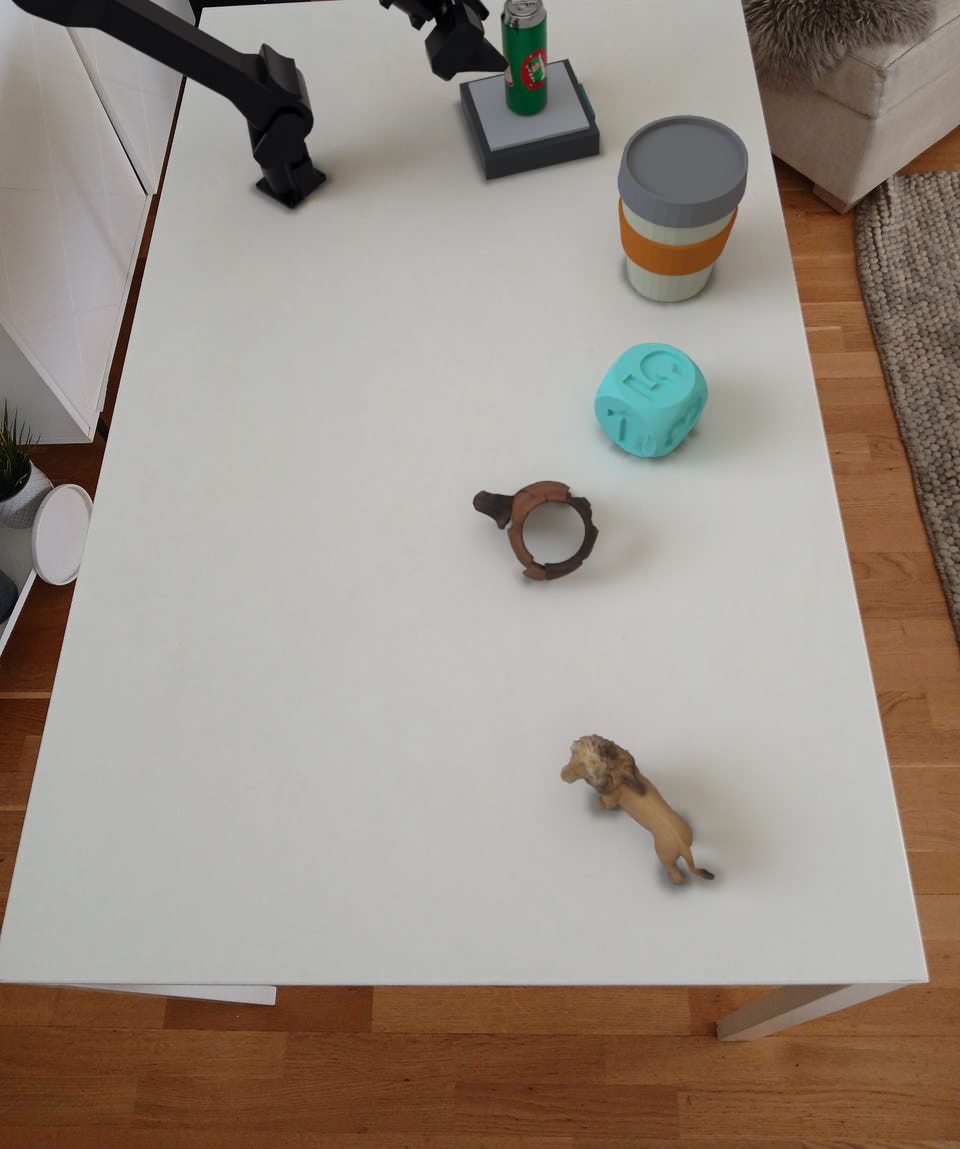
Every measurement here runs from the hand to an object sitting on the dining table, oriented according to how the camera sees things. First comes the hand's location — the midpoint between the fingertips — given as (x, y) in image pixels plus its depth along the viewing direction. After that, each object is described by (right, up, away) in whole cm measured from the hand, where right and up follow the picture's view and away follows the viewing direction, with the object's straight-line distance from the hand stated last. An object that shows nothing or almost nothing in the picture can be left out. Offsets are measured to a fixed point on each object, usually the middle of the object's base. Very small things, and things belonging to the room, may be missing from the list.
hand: (496, 41), depth 101 cm
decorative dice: (+15, -44, -9) cm, 48 cm away
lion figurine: (+11, -80, -25) cm, 85 cm away
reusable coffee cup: (+19, -26, 0) cm, 32 cm away
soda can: (+4, -3, +8) cm, 9 cm away
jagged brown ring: (+4, -56, -13) cm, 57 cm away
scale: (+4, -4, +11) cm, 13 cm away
